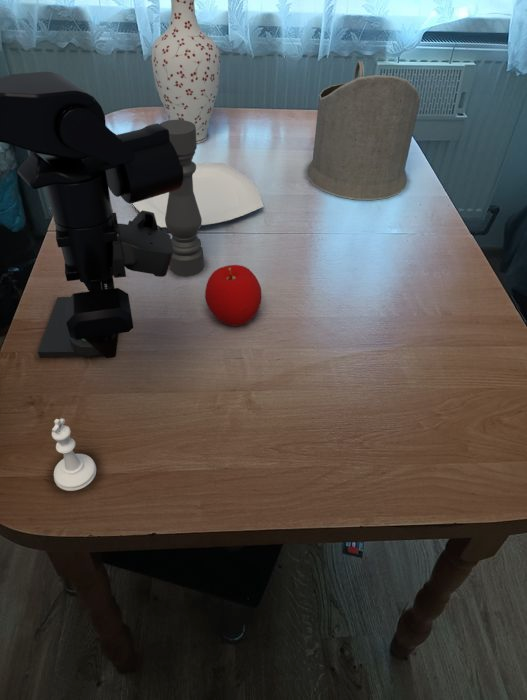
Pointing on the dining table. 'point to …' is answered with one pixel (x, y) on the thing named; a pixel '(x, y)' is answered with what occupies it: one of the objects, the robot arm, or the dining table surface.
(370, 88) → the pitcher
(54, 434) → the chess piece
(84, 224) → the robot arm
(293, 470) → the dining table surface
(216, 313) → the fruit
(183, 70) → the vase
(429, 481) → the dining table surface
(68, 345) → the black button base
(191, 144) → the candle holder
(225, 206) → the plate
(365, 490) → the dining table surface
